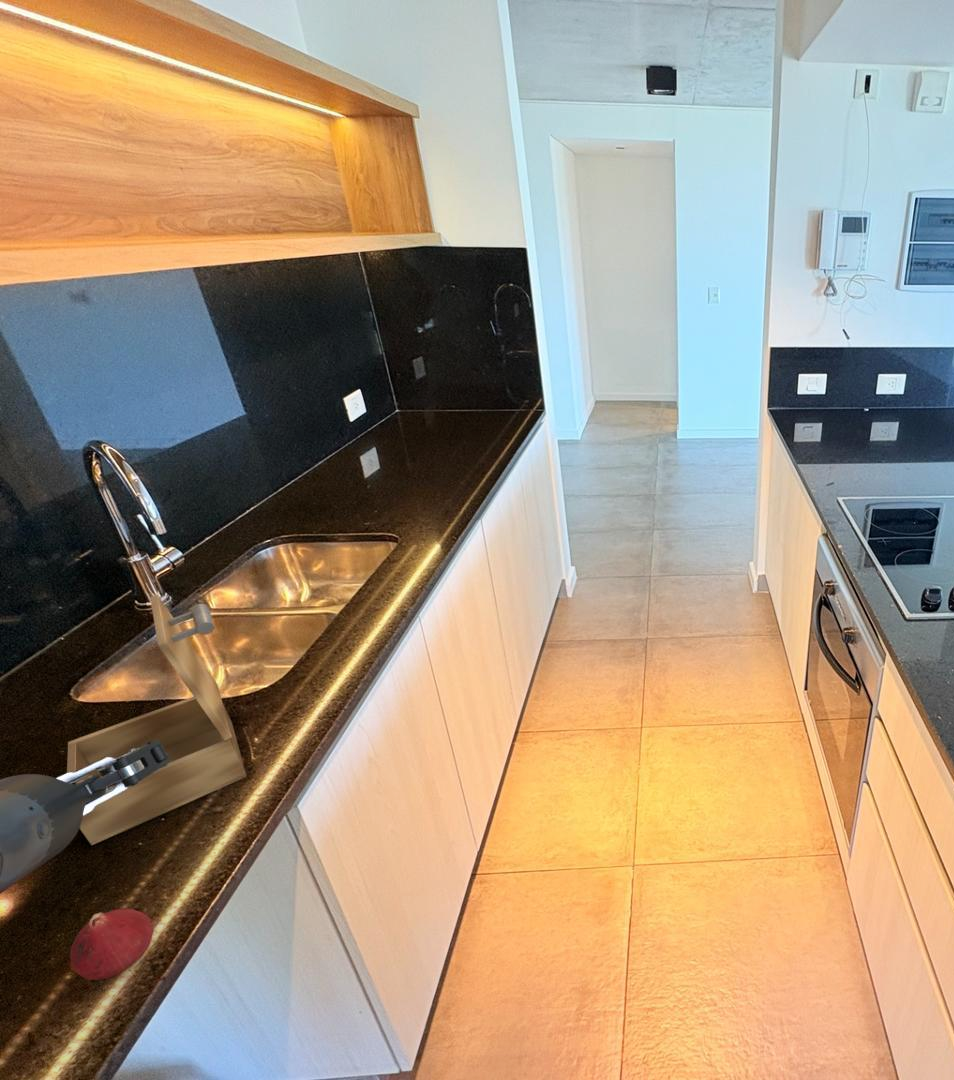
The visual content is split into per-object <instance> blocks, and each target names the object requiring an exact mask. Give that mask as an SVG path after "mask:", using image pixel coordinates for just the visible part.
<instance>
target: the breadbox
mask: <svg viewBox="0 0 954 1080" xmlns="http://www.w3.org/2000/svg"><path fill="white" fill-rule="evenodd" d="M223 706H224V710H225V714H226V717H227V721H228V725H229V728H230V732H231V736H232V738H230V739H227V740H224V739H223V737H222V736H221V734H220V733H219V732H218V730H217V729H216V727H215V726H214V725H213V723H212V722H211V720H210V719H209V717H208V716H207V715H206V713H205V712H204V710H203V709H202V707H201V706H200V705H199V703H198V702H197V700H196V699H195V697H194V696H191V697H187V698H186V699H183V700H180V701H177V702H175V703H171V704H168V705H166V706H164V707H161V708H158V709H155V710H153V711H150V712H148V713H145V714H141V715H139V716H136V717H133V718H130V719H127V720H125V721H122V722H120V723H117V724H114V725H112V726H108V727H106V728H103V729H100V730H97V731H94V732H92V733H89V734H87V735H86V734H85V735H84V736H81V737H78V738H76V739H75V738H74V739H73V740H69V741H67V760H66V761H67V762H66V763H67V765H66V773H69V772H76V771H78V770H80V769H82V768H84V767H86V766H89V765H91V764H93V763H95V762H97V761H99V760H102V759H104V758H107V757H112V758H114V759H116V758H118V757H120V756H122V755H124V754H126V753H128V751H129V750H131V749H134V748H135V749H137V748H139V747H141V746H143V745H145V744H147V743H148V742H150V741H152V740H154V741H156V740H158V739H159V740H160V742H161V744H162V746H163V747H164V749H165V751H166V753H167V754H168V756H169V758H170V760H171V762H170V763H168V764H167V766H165V767H162V768H160V769H158V770H157V771H155V772H153V773H152V774H150V775H149V776H147V777H145V778H144V779H142V780H141V781H139V782H138V784H136V785H134V786H132V787H131V786H128V788H127V789H126V790H124V791H123V792H121V793H119V794H117V795H115V796H113V797H111V798H109V799H108V800H106V801H104V802H102V803H100V804H98V805H96V806H95V807H94V809H93V810H92V811H91V812H89V813H87V814H85V815H84V816H83V817H82V822H81V825H80V828H79V831H81V833H82V834H83V836H84V837H85V838H86V840H87V841H88V843H89V844H90V845H91V846H93V845H96V844H98V843H100V842H102V841H105V840H107V839H109V838H111V837H114V836H116V835H118V834H120V833H123V832H125V831H127V830H130V829H132V828H134V827H136V826H139V825H141V824H143V823H145V822H147V821H150V820H152V819H154V818H156V817H159V816H161V815H163V814H166V813H168V812H170V811H173V810H175V809H177V808H179V807H181V806H183V805H186V804H188V803H190V802H192V801H195V800H197V799H199V798H201V797H204V796H206V795H208V794H211V793H213V792H215V791H218V790H220V789H223V788H224V787H227V786H229V785H231V784H233V783H235V782H238V781H240V780H243V779H244V778H247V773H246V772H247V771H246V769H245V765H244V762H243V758H242V754H241V751H240V747H239V744H238V740H237V737H236V733H235V729H234V726H233V722H232V720H231V718H230V716H229V714H228V711H227V709H226V707H225V705H224V704H223ZM89 774H97V775H99V776H100V777H102V776H101V774H100V772H99V771H97V770H92V771H90V772H88V773H86V774H84V775H82V776H85V775H89ZM80 777H81V776H80ZM78 778H79V777H78ZM107 790H108V786H107V787H106V792H107ZM106 792H105V793H106Z"/></svg>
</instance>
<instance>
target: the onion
mask: <svg viewBox="0 0 954 1080" xmlns="http://www.w3.org/2000/svg"><path fill="white" fill-rule="evenodd" d="M154 931H155V929H154V926H153V924H152V921H151V918H150V917H149V916H148V915H146V914H145V913H143V912H141V911H140V910H136V909H133V908H120V909H119V908H118V909H114V910H111V911H106V912H98V913H94V914H93V915H92V917H91V918H90V919H89V921H88V923H86V924H85V925H84V926H83V927H82V928H81V929H80V931H79V932H78V934H77V935H76V936H75V938H74V940H73V942H72V944H71V946H70V950H69V956H70V966H71V968H72V971H73V972H74V973H76V974H77V975H78V976H80V977H82V978H84V979H85V980H87V981H99V980H107V979H110V978H112V977H115V976H116V975H119V974H121V973H124V972H125V971H126V970H128V969H130V968H131V967H132V966H133V965H135V964H136V963H137V962H138V961H139V960H140V959H141V958H142V957H143V956H144V954H145V953H146V952H147V950H148V949H149V947H150V945H151V942H152V939H153V935H154Z"/></svg>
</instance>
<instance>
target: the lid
mask: <svg viewBox="0 0 954 1080" xmlns="http://www.w3.org/2000/svg"><path fill="white" fill-rule="evenodd" d="M149 598H150V604H151V612H152V617H153V623H154V629H155V630H154V631H155V636H156V643H157V646H158V648H159V650H160V651H161V652H162V654H163V655H164V656H165V658H166V659H167V661H168V662H169V663H170V665H171V667H172V668H173V669H174V670H175V672H176V673H177V675H178V677H179V678H180V679H181V680H182V682H183V683H184V685H185V687H187V689H188V690H189V692H190V694H191V695H192V697H195V699H196V700H197V702H198V703H199V705H200V706H201V707H202V709H203V710H204V712H205V713H206V715H207V716H208V717H209V719H210V720H211V722H212V723H213V725H214V726H215V727H216V729H217V730H218V732H219V733H220V734H221V736H222V737H223V739H224V740H227V739H230V738H232V736H231V732H230V728H229V725H228V721H227V717H226V714H225V710H224V707H225V705H224V703H223V700H222V695H221V692H220V689H219V684H218V683H217V681H216V680H215V678H214V677H213V676H212V673H211V672H210V671H209V669H208V668H207V666H206V665H205V663H204V662H203V659H201V657H200V656H199V654H198V653H197V651H196V649H195V648H194V647H193V645H192V644H191V642H190V641H189V639H188V638H189V637H193V636H195V635H197V634H198V635H202V636H206V635H210V634H212V633H213V632H214V630H215V627H216V626H215V623H214V620H213V617H212V614H211V610H210V607H209V605H207V604H204V603H198V604H195V605H193V606H192V607H191V610H190V611H188V612H185V613H183V614H180V615H177V616H174V617H173V615H172V613H171V612H170V611H169V609H168V607H167V606H166V604H165V603H164V601H163V600H162V598H161V597H160V596H159V594H158V593H157V594H153V595H151V596H150V597H149ZM192 619H193V624H194V626H193V627H191V628H188V629H185V630H182V629H181V627H180V626H179V624H181V623H184V622H186V621H189V620H192ZM223 705H224V706H223Z"/></svg>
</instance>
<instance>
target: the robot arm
mask: <svg viewBox="0 0 954 1080" xmlns="http://www.w3.org/2000/svg"><path fill="white" fill-rule="evenodd" d="M170 762H171V760H170V758H169V756H168V754H167V753H166V751H165V749H164V747H163V746H162V744H161V742H160V740H159V739H158V740H156V741H154V740H152V741H150V742H148V743H147V744H145V745H143V746H141V747H139V748H137V749H135V748H134V749H131V750H129V751H128V753H126V754H124V755H122V756H120V757H118V758H116V759H114V758H112V757H107V758H104V759H102V760H99V761H97V762H95V763H93V764H91V765H89V766H86V767H84V768H82V769H80V770H78V771H76V772H69V773H67V772H66V773H64V774H61V775H59V776H57V777H53V776H49V775H45V774H38V773H27V774H25V773H24V774H18V775H12V776H8V777H5V778H2V779H0V895H1V894H2V893H4V892H5V891H7V890H9V889H10V888H11V887H12V886H14V885H15V884H17V883H18V882H20V881H21V880H23V879H24V878H26V877H27V876H29V875H30V874H31V873H33V872H35V871H36V870H38V868H40V867H41V866H43V865H44V864H46V863H48V862H49V861H50V860H51V859H53V858H54V857H56V856H57V855H59V854H60V853H61V852H62V851H63V850H65V849H66V848H67V847H68V846H69V845H70V844H71V842H72V841H73V840H74V839H75V837H76V836H77V834H78V832H79V831H80V825H81V822H82V817H83V816H84V815H85V814H87V813H89V812H91V811H92V810H93V809H94V807H95V806H96V805H98V804H100V803H102V802H104V801H106V800H108V799H109V798H111V797H113V796H115V795H117V794H119V793H121V792H123V791H124V790H126V789H127V788H128V786H131V787H132V786H134V785H136V784H138V782H139V781H141V780H142V779H144V778H145V777H147V776H149V775H150V774H152V773H153V772H155V771H157V770H158V769H160V768H162V767H165V766H167V764H168V763H170ZM92 770H97V771H99V772H100V774H101V776H102V777H100V776H99V775H97V774H89V775H85V776H82V775H84V774H86V773H88V772H90V771H92ZM80 776H81V777H80ZM78 777H79V778H78ZM107 786H108V790H107V792H106V787H107ZM105 792H106V793H105Z"/></svg>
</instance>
